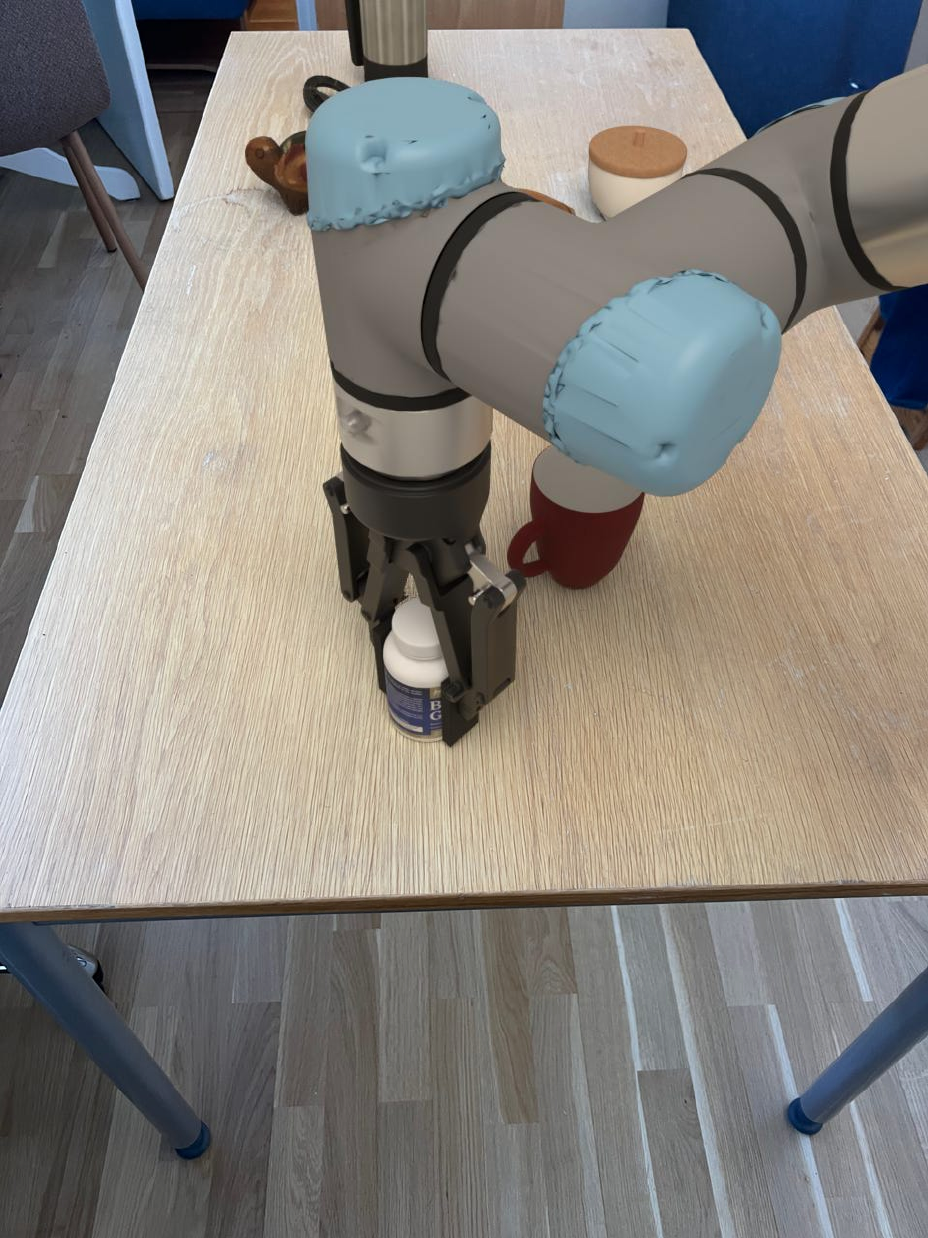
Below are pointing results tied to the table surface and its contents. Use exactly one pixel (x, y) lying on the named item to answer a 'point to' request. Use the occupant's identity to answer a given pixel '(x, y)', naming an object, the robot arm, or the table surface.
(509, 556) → the mug
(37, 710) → the table surface
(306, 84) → the milk frother
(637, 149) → the trinket box
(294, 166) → the decorative turtle
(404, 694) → the pill bottle
